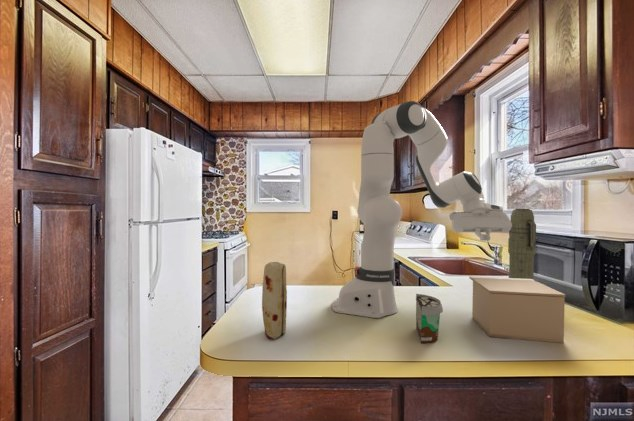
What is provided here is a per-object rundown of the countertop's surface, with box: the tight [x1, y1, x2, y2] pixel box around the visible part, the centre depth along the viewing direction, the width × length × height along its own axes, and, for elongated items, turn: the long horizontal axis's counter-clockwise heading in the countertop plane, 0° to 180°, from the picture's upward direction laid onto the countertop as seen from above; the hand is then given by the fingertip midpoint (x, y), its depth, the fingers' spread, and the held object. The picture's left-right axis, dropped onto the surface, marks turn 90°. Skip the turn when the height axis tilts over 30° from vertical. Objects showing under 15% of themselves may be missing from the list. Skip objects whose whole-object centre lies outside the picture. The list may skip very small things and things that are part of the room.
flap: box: [469, 275, 567, 298], centre depth 88 cm, size 18×17×1 cm
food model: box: [261, 261, 288, 340], centre depth 82 cm, size 10×7×20 cm
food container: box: [415, 293, 444, 345], centre depth 82 cm, size 12×6×10 cm, turn 168°
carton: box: [471, 280, 566, 344], centre depth 87 cm, size 18×14×12 cm
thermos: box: [507, 208, 537, 280], centre depth 117 cm, size 9×12×35 cm
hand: (485, 239), depth 109 cm, fingers closed
